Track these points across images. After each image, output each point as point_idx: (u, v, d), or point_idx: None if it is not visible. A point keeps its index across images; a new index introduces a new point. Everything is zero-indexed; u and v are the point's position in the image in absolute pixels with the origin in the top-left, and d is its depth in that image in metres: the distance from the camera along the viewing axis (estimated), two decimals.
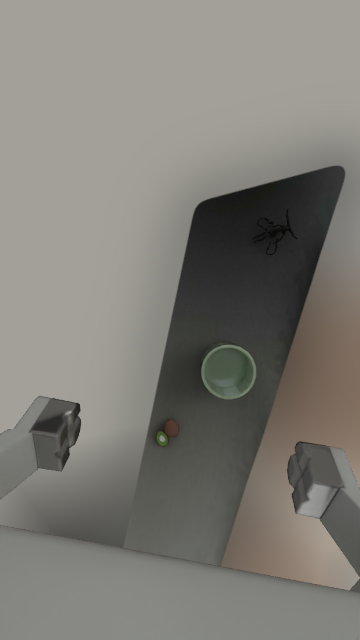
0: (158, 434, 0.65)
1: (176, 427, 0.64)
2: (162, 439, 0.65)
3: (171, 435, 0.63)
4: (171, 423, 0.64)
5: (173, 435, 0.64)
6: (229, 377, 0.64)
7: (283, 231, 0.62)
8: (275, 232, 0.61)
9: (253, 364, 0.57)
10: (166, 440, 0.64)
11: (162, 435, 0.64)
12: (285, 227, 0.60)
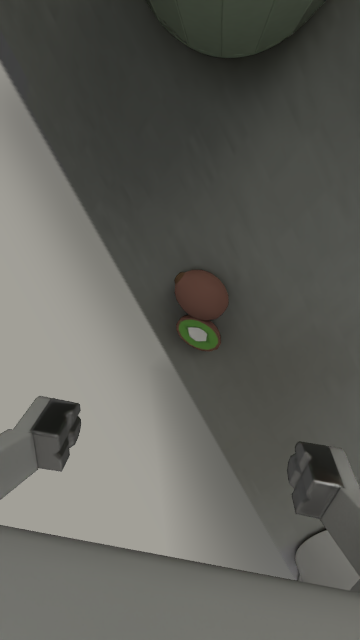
0: (181, 329, 0.21)
1: (212, 285, 0.19)
2: (199, 335, 0.21)
3: (212, 314, 0.19)
4: (190, 284, 0.19)
5: (218, 311, 0.19)
6: None
7: None
8: None
9: None
10: (210, 332, 0.21)
11: (192, 326, 0.21)
12: None
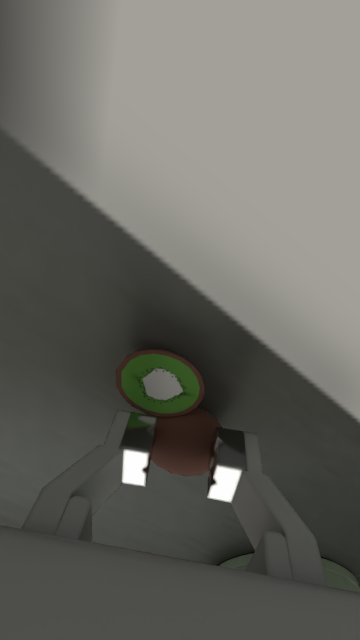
0: (192, 380, 0.12)
1: None
2: (157, 385, 0.12)
3: (155, 450, 0.12)
4: (206, 471, 0.12)
5: None
6: None
7: None
8: None
9: None
10: (142, 401, 0.12)
11: (176, 397, 0.12)
12: None
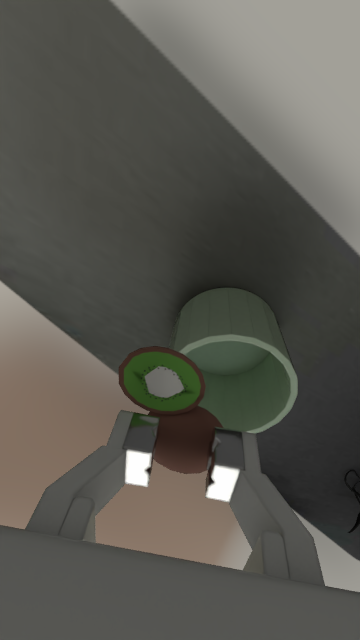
0: (193, 378, 0.12)
1: None
2: (159, 382, 0.12)
3: (156, 447, 0.12)
4: None
5: None
6: None
7: None
8: None
9: None
10: (144, 398, 0.12)
11: (177, 394, 0.12)
12: None
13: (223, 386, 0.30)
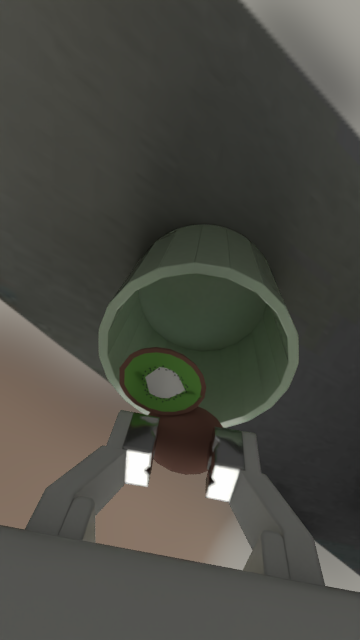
0: (194, 379, 0.12)
1: None
2: (159, 383, 0.12)
3: (157, 447, 0.12)
4: (206, 470, 0.13)
5: None
6: (164, 293, 0.22)
7: None
8: None
9: None
10: (145, 399, 0.12)
11: (178, 395, 0.12)
12: None
13: (200, 364, 0.23)
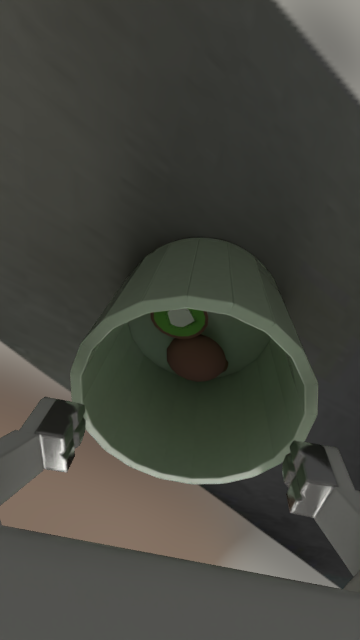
0: (199, 312, 0.18)
1: (191, 380, 0.19)
2: (177, 316, 0.18)
3: (177, 360, 0.18)
4: (212, 377, 0.18)
5: (173, 363, 0.18)
6: None
7: None
8: None
9: (171, 477, 0.15)
10: (168, 328, 0.18)
11: (190, 324, 0.18)
12: None
13: (197, 396, 0.20)
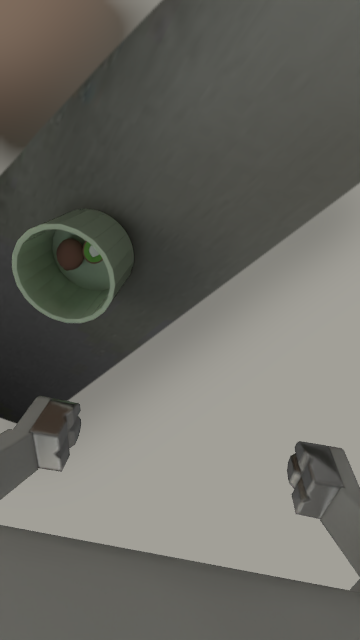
0: (97, 260, 0.35)
1: (57, 252, 0.34)
2: (94, 249, 0.34)
3: (70, 249, 0.34)
4: (61, 264, 0.35)
5: (68, 246, 0.34)
6: None
7: None
8: None
9: (14, 260, 0.29)
10: (88, 244, 0.34)
11: (90, 255, 0.35)
12: None
13: (45, 252, 0.35)
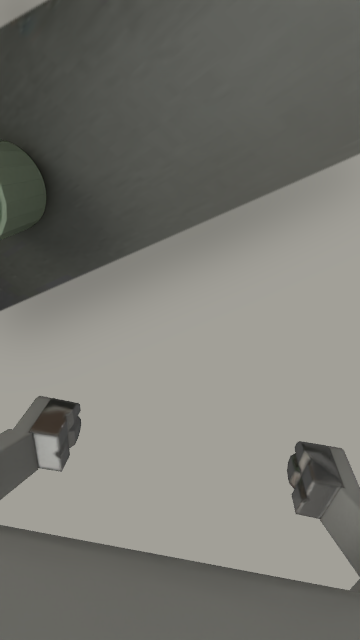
0: None
1: None
2: None
3: None
4: None
5: None
6: None
7: None
8: None
9: None
10: None
11: None
12: None
13: None
